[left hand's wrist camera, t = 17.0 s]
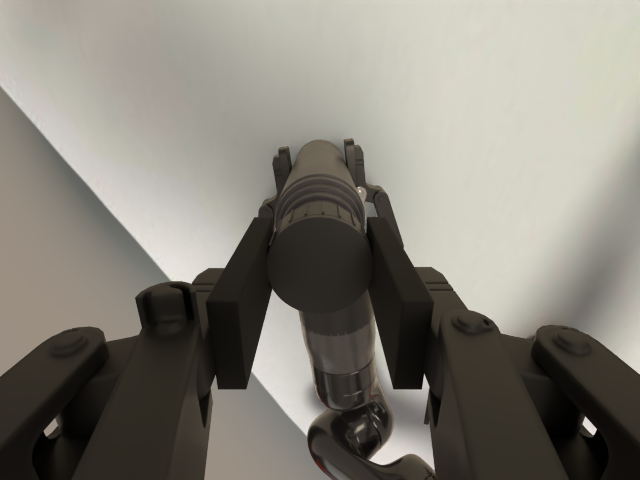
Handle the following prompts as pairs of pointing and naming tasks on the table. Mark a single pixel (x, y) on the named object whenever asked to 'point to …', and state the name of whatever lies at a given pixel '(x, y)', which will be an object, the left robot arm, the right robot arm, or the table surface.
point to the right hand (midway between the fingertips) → (315, 144)
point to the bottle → (319, 182)
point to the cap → (319, 259)
